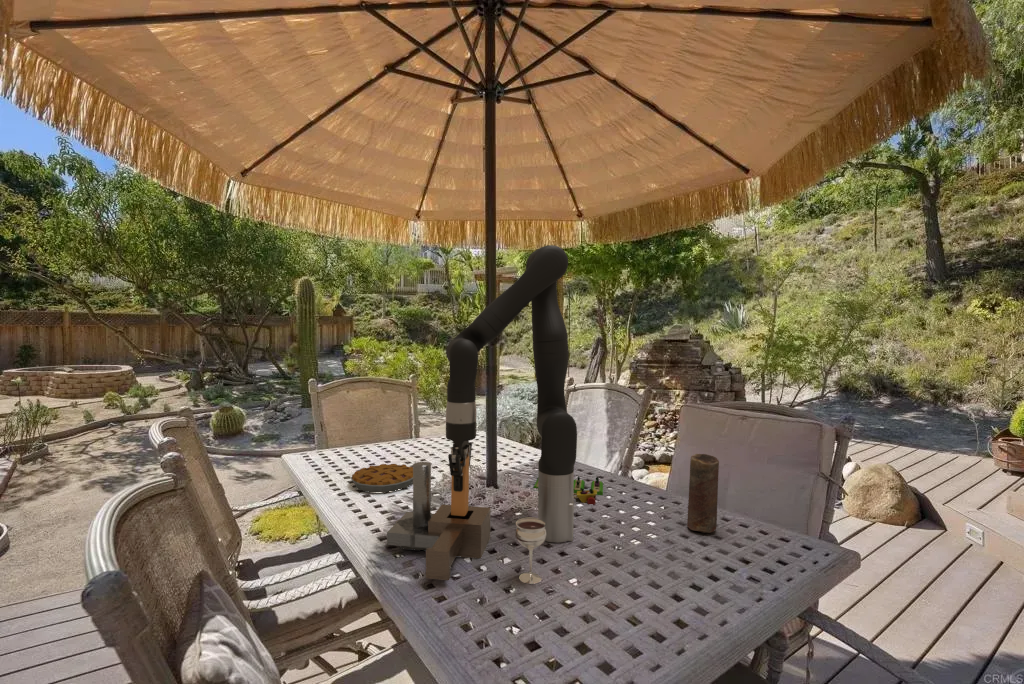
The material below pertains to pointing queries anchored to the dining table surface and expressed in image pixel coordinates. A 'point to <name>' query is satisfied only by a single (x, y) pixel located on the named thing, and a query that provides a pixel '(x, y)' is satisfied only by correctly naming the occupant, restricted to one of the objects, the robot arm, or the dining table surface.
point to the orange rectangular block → (461, 493)
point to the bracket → (456, 538)
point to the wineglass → (530, 542)
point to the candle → (703, 493)
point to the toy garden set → (585, 495)
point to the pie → (383, 478)
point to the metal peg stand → (416, 514)
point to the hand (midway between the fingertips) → (460, 487)
